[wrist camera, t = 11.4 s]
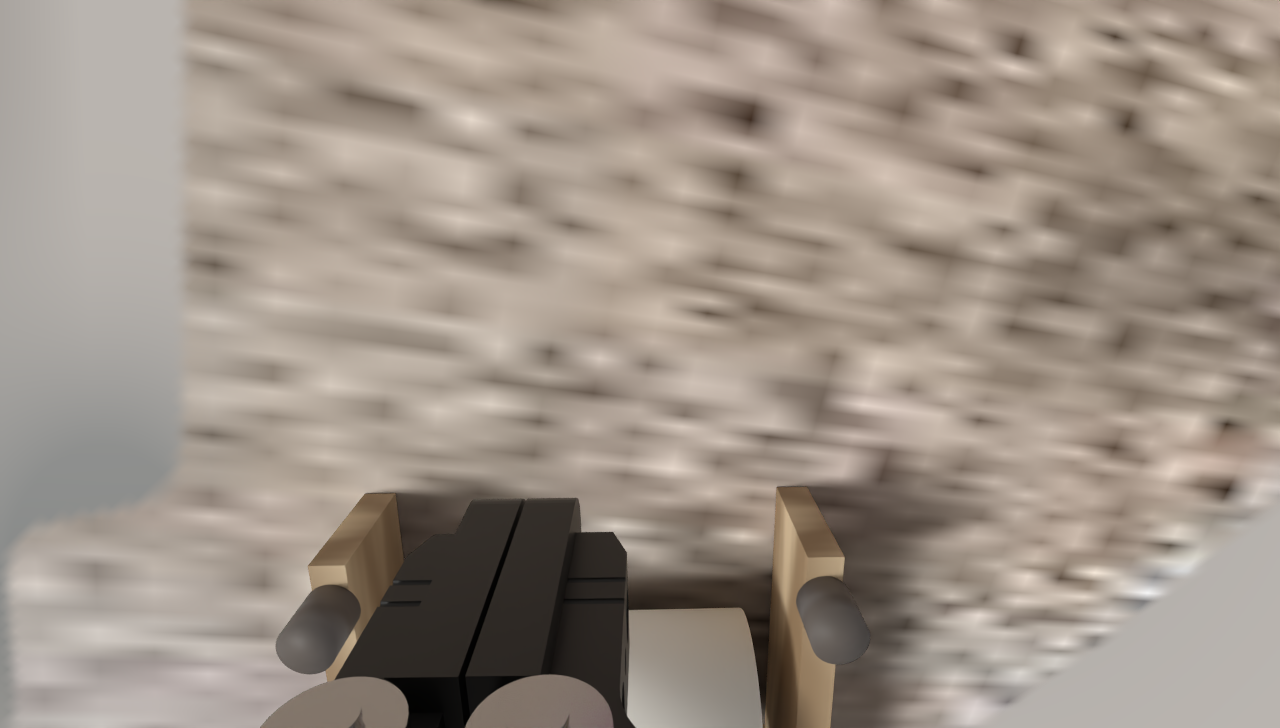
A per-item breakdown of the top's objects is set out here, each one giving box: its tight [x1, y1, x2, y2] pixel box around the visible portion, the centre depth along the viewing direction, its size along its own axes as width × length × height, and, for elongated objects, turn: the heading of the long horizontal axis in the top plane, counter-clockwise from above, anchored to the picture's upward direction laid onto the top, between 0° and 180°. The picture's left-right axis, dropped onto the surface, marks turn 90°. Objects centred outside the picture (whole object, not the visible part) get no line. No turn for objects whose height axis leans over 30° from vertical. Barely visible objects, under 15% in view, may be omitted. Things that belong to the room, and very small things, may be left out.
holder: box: [276, 487, 870, 728], centre depth 26 cm, size 18×13×7 cm
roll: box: [627, 608, 763, 728], centre depth 26 cm, size 12×7×7 cm
